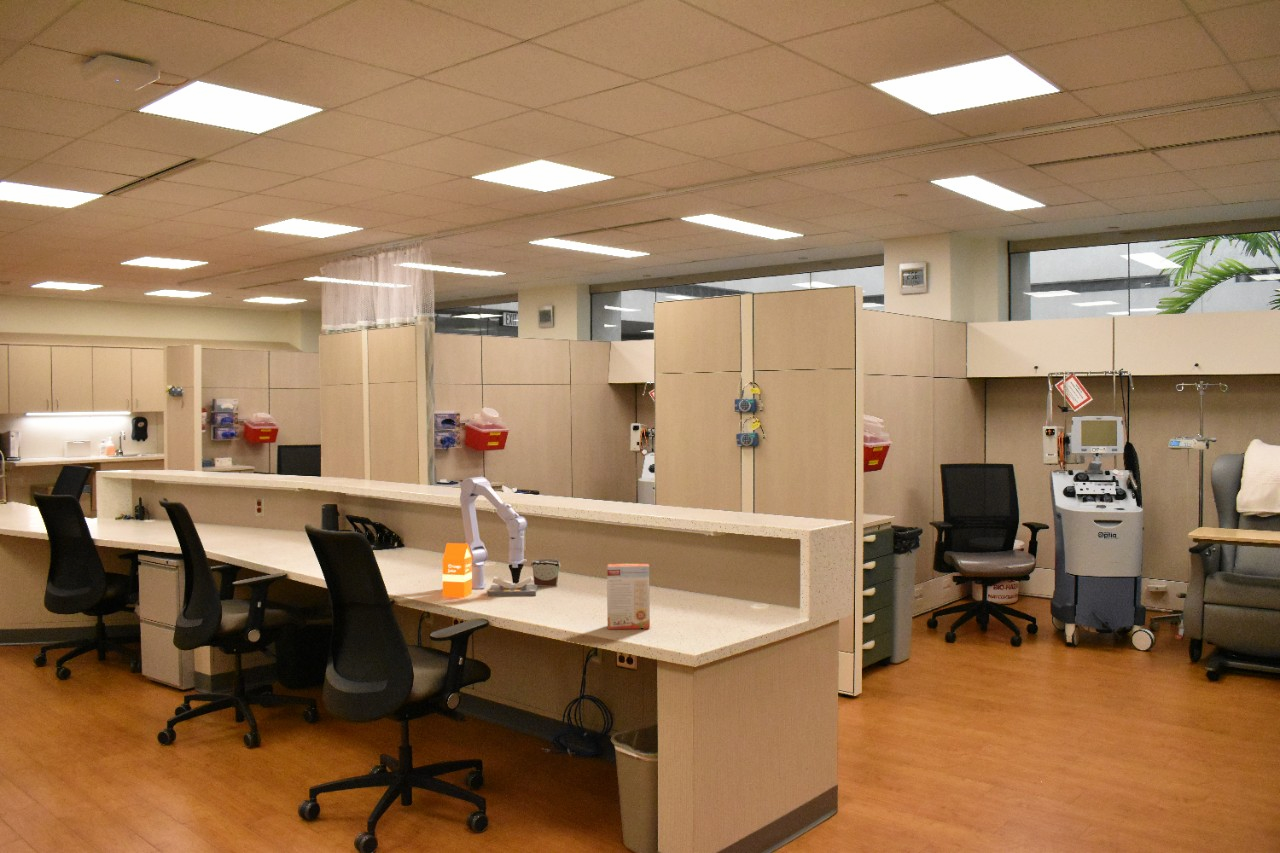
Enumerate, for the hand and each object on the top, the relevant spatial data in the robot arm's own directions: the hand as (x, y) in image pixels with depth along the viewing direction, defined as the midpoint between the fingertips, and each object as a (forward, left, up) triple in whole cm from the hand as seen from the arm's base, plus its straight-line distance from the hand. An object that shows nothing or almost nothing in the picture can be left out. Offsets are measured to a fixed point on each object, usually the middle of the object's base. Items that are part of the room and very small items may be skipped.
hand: (515, 582), depth 373 cm
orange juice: (-22, -4, -4) cm, 23 cm away
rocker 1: (-6, 0, -1) cm, 6 cm away
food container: (+12, +15, -4) cm, 20 cm away
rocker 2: (+3, 0, -1) cm, 4 cm away
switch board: (-1, 0, -4) cm, 4 cm away
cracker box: (+41, -59, -4) cm, 72 cm away
